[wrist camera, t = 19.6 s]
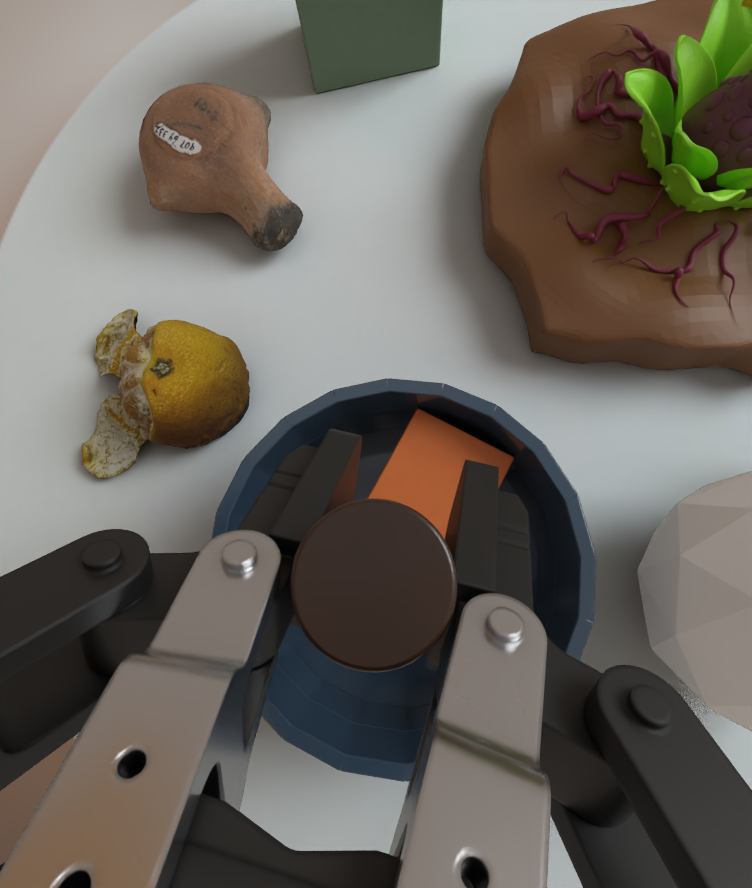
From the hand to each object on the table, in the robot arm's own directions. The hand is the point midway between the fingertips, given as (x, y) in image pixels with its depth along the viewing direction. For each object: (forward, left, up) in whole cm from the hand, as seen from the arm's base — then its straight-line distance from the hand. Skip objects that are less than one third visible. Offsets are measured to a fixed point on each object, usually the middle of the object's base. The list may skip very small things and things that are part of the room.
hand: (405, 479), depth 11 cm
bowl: (-1, -2, -11) cm, 12 cm away
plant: (+16, +13, -12) cm, 23 cm away
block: (+1, +1, -11) cm, 11 cm away
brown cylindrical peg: (-1, -2, -5) cm, 5 cm away
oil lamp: (-6, +19, -12) cm, 23 cm away
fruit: (-11, +9, -12) cm, 18 cm away
